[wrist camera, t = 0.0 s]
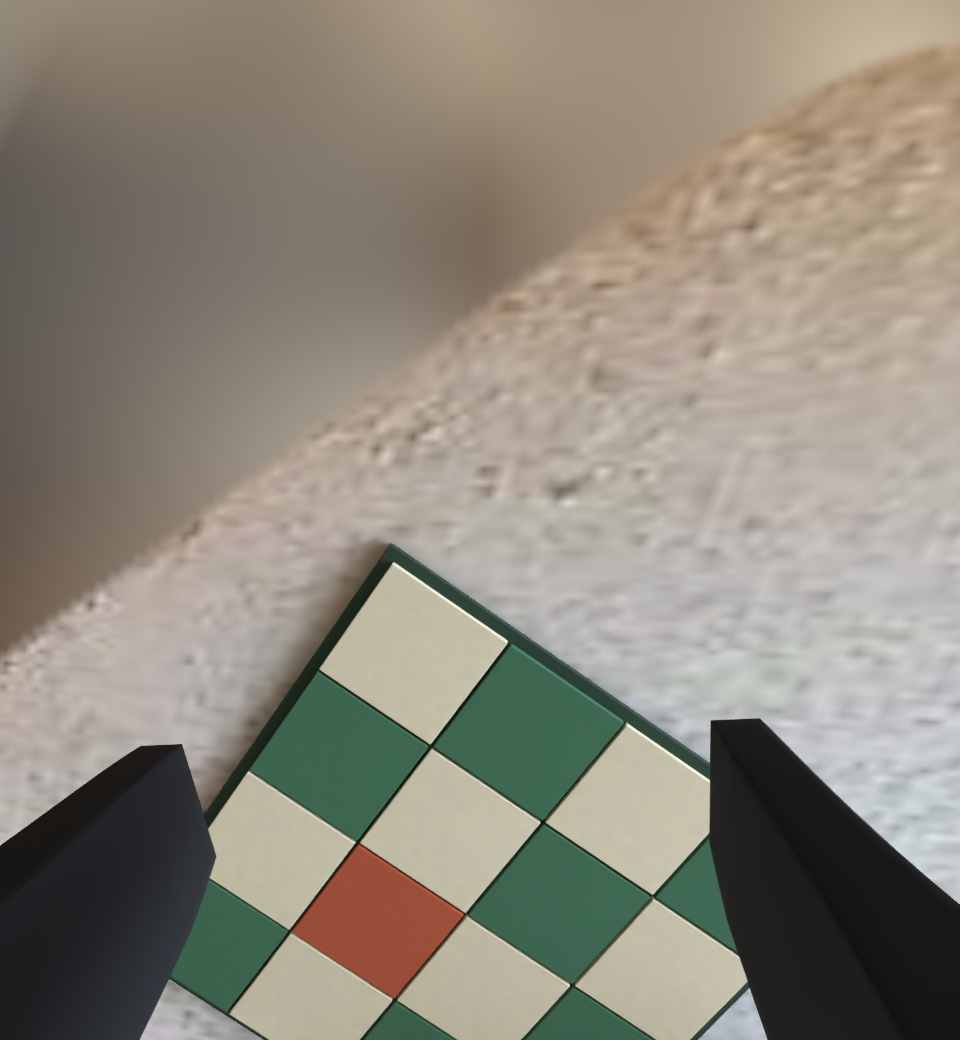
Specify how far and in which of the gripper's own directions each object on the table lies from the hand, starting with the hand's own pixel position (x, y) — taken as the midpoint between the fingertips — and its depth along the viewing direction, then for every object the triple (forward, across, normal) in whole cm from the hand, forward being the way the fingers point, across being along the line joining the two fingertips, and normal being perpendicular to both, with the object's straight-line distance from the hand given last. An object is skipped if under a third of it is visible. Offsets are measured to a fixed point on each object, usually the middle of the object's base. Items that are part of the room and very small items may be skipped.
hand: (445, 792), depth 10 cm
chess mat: (+9, +2, +12) cm, 15 cm away
